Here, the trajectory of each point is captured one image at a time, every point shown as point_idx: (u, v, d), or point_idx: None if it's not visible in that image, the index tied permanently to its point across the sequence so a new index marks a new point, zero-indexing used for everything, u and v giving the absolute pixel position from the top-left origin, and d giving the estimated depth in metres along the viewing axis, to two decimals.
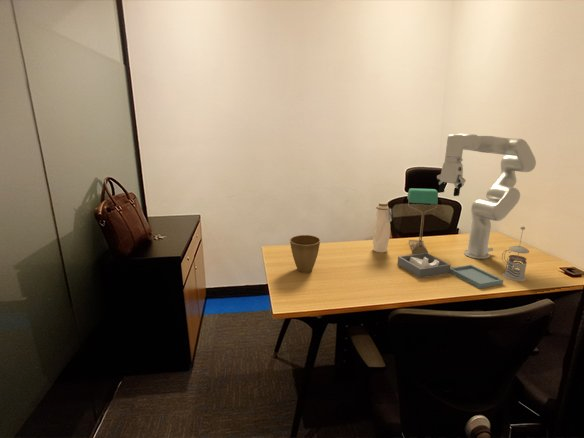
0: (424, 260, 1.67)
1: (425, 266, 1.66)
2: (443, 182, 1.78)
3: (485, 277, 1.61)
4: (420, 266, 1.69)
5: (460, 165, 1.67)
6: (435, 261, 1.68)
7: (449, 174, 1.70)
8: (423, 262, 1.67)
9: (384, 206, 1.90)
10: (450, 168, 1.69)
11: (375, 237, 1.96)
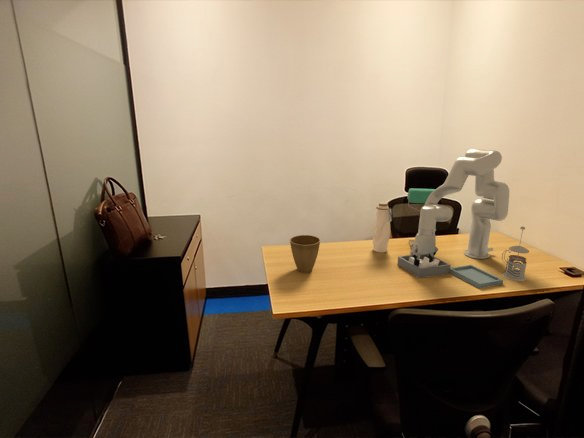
0: (425, 260, 1.66)
1: (426, 266, 1.66)
2: None
3: (485, 277, 1.61)
4: (421, 266, 1.68)
5: None
6: (435, 260, 1.68)
7: (430, 246, 1.69)
8: (424, 262, 1.67)
9: (384, 206, 1.90)
10: (431, 240, 1.68)
11: (375, 237, 1.96)
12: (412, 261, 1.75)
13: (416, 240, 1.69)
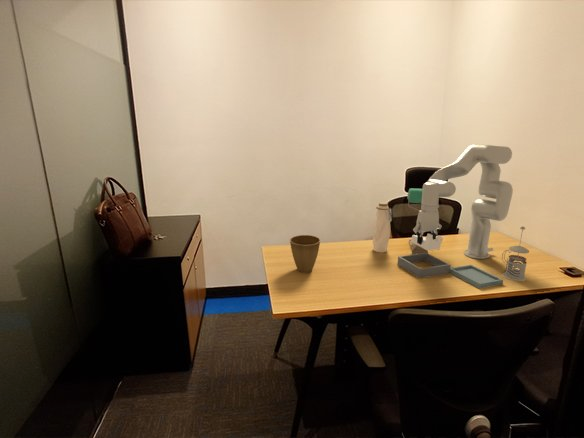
0: (428, 236, 1.64)
1: (430, 242, 1.63)
2: None
3: (485, 277, 1.61)
4: (424, 243, 1.66)
5: None
6: (439, 237, 1.66)
7: (433, 222, 1.66)
8: (427, 238, 1.64)
9: (384, 206, 1.90)
10: (434, 216, 1.65)
11: (375, 237, 1.96)
12: (415, 239, 1.72)
13: (419, 217, 1.66)
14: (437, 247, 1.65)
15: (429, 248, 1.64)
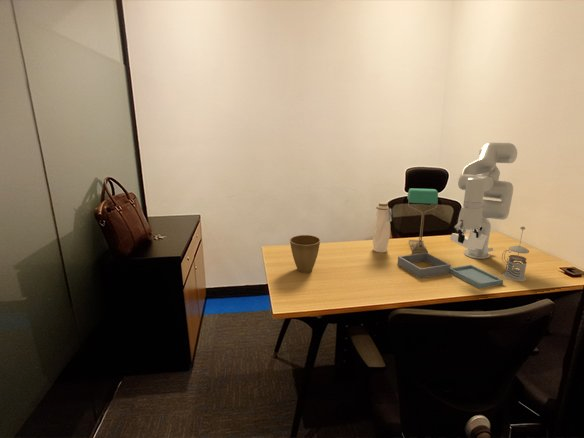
0: (471, 235, 1.54)
1: (473, 241, 1.54)
2: None
3: (485, 277, 1.61)
4: (466, 241, 1.56)
5: None
6: (482, 236, 1.56)
7: (476, 220, 1.56)
8: (470, 237, 1.55)
9: (384, 206, 1.90)
10: (478, 214, 1.55)
11: (375, 237, 1.96)
12: (455, 237, 1.63)
13: (461, 214, 1.57)
14: (480, 246, 1.56)
15: (472, 247, 1.55)
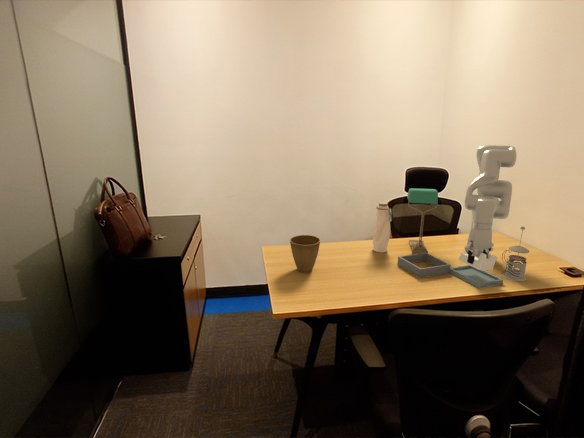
0: (482, 256, 1.54)
1: (483, 262, 1.54)
2: None
3: (485, 277, 1.61)
4: (476, 262, 1.56)
5: None
6: (492, 256, 1.56)
7: (486, 241, 1.56)
8: (480, 258, 1.55)
9: (384, 206, 1.90)
10: (488, 235, 1.56)
11: (375, 237, 1.96)
12: (465, 258, 1.63)
13: (471, 235, 1.57)
14: (490, 267, 1.55)
15: (482, 268, 1.54)
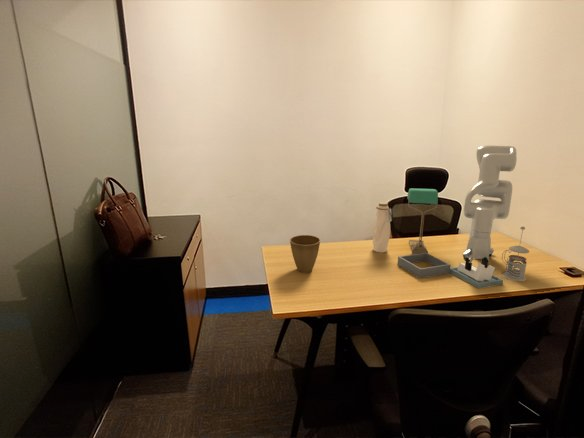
0: (480, 266, 1.56)
1: (481, 273, 1.55)
2: None
3: None
4: (475, 273, 1.58)
5: None
6: (490, 267, 1.58)
7: (485, 249, 1.57)
8: (478, 269, 1.56)
9: (384, 206, 1.90)
10: (486, 243, 1.57)
11: (375, 237, 1.96)
12: (463, 268, 1.64)
13: (470, 243, 1.58)
14: (488, 278, 1.57)
15: (480, 279, 1.56)
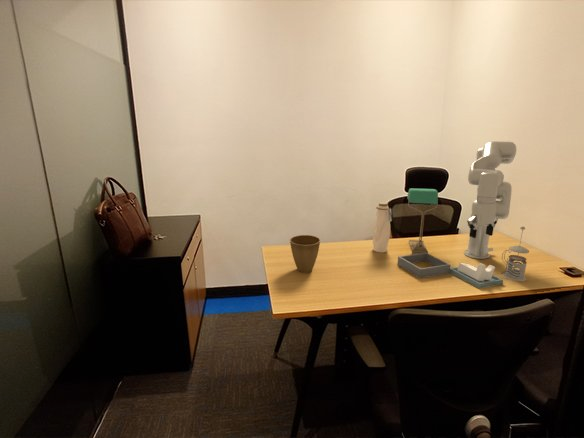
0: (480, 266, 1.56)
1: (482, 273, 1.55)
2: None
3: None
4: (475, 273, 1.58)
5: None
6: (490, 267, 1.58)
7: (490, 215, 1.54)
8: (479, 268, 1.56)
9: (384, 206, 1.90)
10: (491, 209, 1.53)
11: (375, 237, 1.96)
12: (463, 268, 1.64)
13: (475, 209, 1.54)
14: (488, 277, 1.57)
15: (481, 279, 1.56)
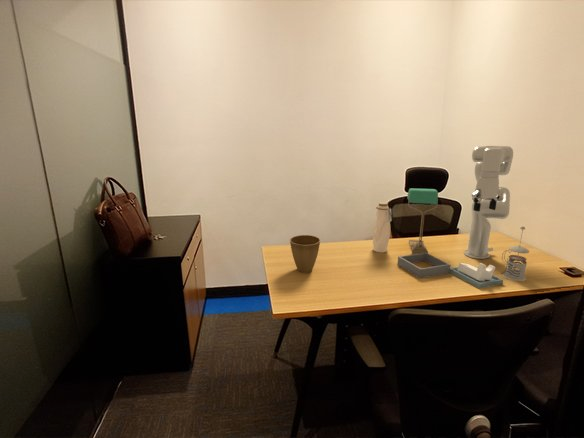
0: (481, 266, 1.56)
1: (482, 273, 1.56)
2: None
3: None
4: (475, 273, 1.58)
5: None
6: (490, 266, 1.58)
7: (493, 190, 1.62)
8: (479, 268, 1.56)
9: (384, 206, 1.90)
10: (495, 183, 1.61)
11: (375, 237, 1.96)
12: (463, 268, 1.64)
13: (479, 184, 1.62)
14: (489, 277, 1.58)
15: (481, 278, 1.56)
